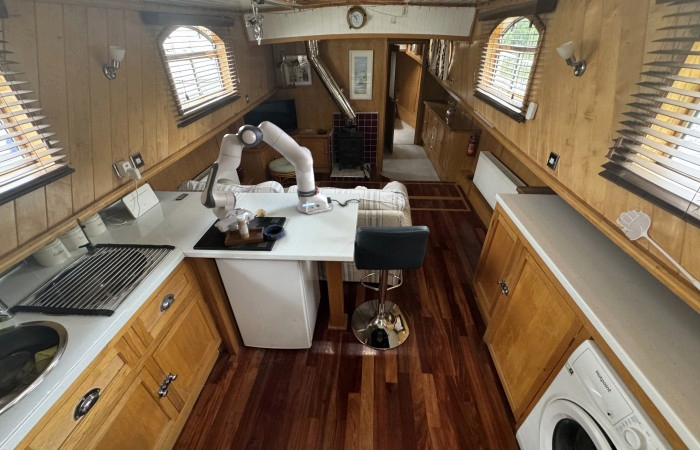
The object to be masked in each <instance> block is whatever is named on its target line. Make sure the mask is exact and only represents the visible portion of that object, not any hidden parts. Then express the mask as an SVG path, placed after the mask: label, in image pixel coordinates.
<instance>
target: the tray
mask: <svg viewBox="0 0 700 450" xmlns="http://www.w3.org/2000/svg"><path fill="white" fill-rule="evenodd" d="M265 229H266V228H265V226H261V227H252V228H251V227H250V228H248V233H249V237H248V238H246V239H242V238H241V234H240V231H239V229H233V230H232V229H231V230H227V234H226V237H225V240H224V245H225V247H231V246H237V245H238V246H239V245H246V244H247V245H248V244H255V243H263V242H264V240H265V236H264V230H265Z"/></svg>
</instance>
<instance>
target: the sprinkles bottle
mask: <svg viewBox="0 0 700 450" xmlns="http://www.w3.org/2000/svg"><path fill="white" fill-rule="evenodd" d="M236 220H237V222H238V225H239V226H240V228H239V229H238V230H239V231H240V234H241V238H242V239H246V238H248V237H249V233H248V229H249V228H248V225H247V224H246V221H245V216H244V215H238V216H236Z"/></svg>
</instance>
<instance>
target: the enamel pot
mask: <svg viewBox="0 0 700 450" xmlns="http://www.w3.org/2000/svg"><path fill="white" fill-rule="evenodd" d="M264 229H265V230H264V239H266V240H268V241H277V240H279V239H282V238H283V237H284V236H285V228H284V226H283V225H279V224H277V223H276V224H272V225H269V226H267V227H266V228H264ZM272 231H280V232H279V233H276V234H269V233H270V232H272Z"/></svg>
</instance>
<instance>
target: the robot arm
mask: <svg viewBox="0 0 700 450" xmlns="http://www.w3.org/2000/svg"><path fill="white" fill-rule="evenodd" d="M262 141H263V142H265V144H268V145H269V146H270V147H271V148H273V149H274V150H275V151H277V152H278V153H279V154H281V155H282V156H283V157H284V158H285V159H286V160H287V161H288V162H289V163H290V164H291V165H292V166H293V167H294V170H295V178H296V187H297V189H296V192H297V193H296V195H297V198H298V203H297V204H298V205H297V211H299V212H300V213H305V214H306V215H313V214H318V213H323V212H328V211H331V210H332V207H333V206H332V202H337V203H338V204H339V205H340V206H342V207H346V206H348V202H351V201H357V202H359V203H362V201H361V200H360V199H357V198H351V199H348V200H346V201H345V204H342V203H341V202H340V201H339V200H337V199H331V197H330V196H326V195H325V194H323V193H322V192H320V190H319V187H318V186H316V184H315V175H314V174H315V173H314V167H313V165H314V160H313V156H312V152H311V151H310V149H309V148H307V147H306V146H300V145H299V144H298V143H297V142H296V141H295V139H293V138H292V137H291V136H290V135H289V134H287V133H286V132H285V131H284V130H283V129H281V128H280V127H279V126H277V125H276V124H274V123H272V122H270V121H269V120H265V121H262V122H260V124H259V125H258V126H254V125H253V124H252V125H251V124H244V125H242V126H241V127H240V128H239V129H238V130H237V132H236V133H235V134H234V133H227V134H225V135H224V136H223V137H222V139H221V143H220V148H219V154H218V157H217V159H216V161H215V162H214V161H213V162H212V164H211V166H210V168H209V171H208V174H207V178H206V182H205V185H204V188H203V191H202V193H201V196H200V204H202V206H204V207H205V208H206V209H211V211H212V214H213V215H214V216H215V218H217V219H218V220H219V221H217V222H216V223H215V224H214V227H215V228H217V229H218V230H219V231H220V232H221V233H225V232H228V231H231V230H232V229H233V230H239V228H240V226H239V225H238V222H237V220H236V216H238V215H244V216H245V221H246V224H247V226H248V225H250V221H252V220H254V219H255V215H254V214H255V213H253V212H252V211H251V210H249V209H245V207H237V208H236V206H237V196H236V195H235V193H234V192H233V191H232V190H216V186H217V184H218V180H219V178H220V177H221V176H222V175H224V174H226V173H229V172H233V171H235V170H236V169H238V168H239V166H240V164H241V159H242V151H243V148H244V147H249V148H251V147H255V146H257V145H258V144H259V143H261V142H262Z"/></svg>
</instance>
